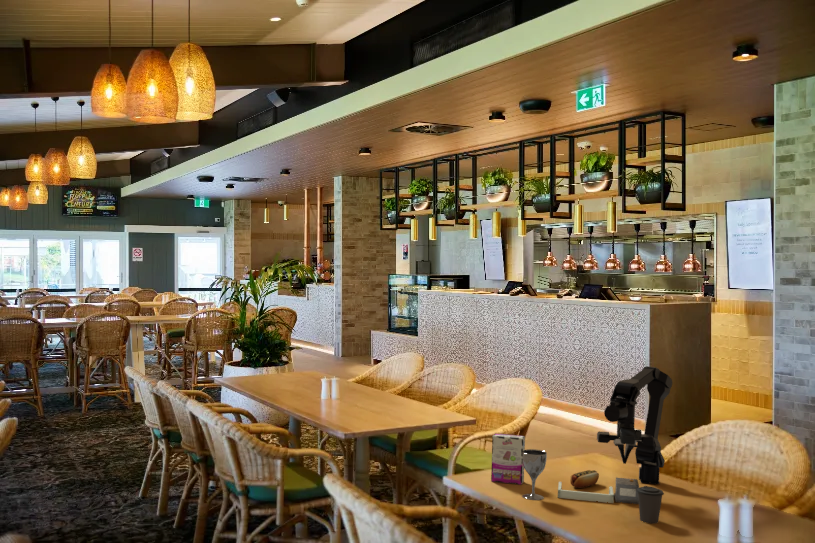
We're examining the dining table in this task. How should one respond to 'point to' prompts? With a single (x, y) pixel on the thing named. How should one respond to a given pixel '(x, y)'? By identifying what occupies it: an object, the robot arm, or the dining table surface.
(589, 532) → the dining table surface
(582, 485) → the hot dog
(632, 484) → the box
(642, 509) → the coffee cup
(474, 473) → the dining table surface
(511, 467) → the candy bar box
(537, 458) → the wine glass
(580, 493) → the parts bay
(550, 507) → the dining table surface
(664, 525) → the dining table surface
